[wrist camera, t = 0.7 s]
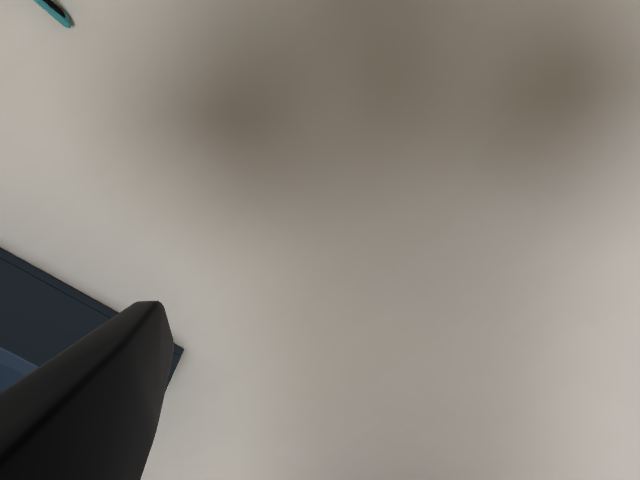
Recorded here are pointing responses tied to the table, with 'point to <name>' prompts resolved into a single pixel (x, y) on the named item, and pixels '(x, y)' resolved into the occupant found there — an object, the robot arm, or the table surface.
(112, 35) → the table surface
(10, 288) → the tub
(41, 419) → the robot arm
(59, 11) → the sunglasses
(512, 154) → the table surface
